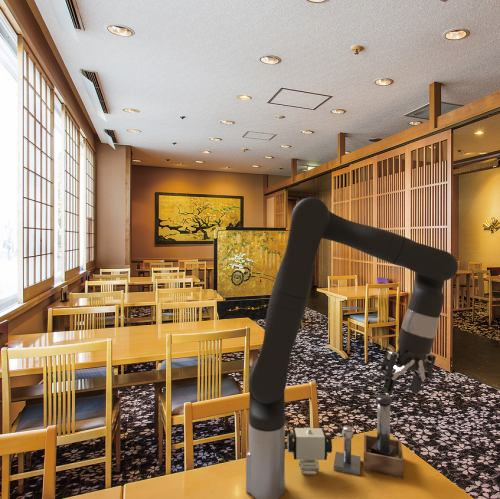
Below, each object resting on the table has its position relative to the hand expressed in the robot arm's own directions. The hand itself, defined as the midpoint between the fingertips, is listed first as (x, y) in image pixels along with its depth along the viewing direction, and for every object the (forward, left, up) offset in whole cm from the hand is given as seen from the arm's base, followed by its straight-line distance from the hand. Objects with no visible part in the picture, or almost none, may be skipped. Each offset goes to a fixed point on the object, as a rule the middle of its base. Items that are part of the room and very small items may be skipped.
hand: (400, 392), depth 87 cm
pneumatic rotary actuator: (-23, +3, -27) cm, 35 cm away
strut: (-3, +13, -25) cm, 29 cm away
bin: (-3, +13, -26) cm, 30 cm away
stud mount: (-13, +9, -26) cm, 31 cm away
